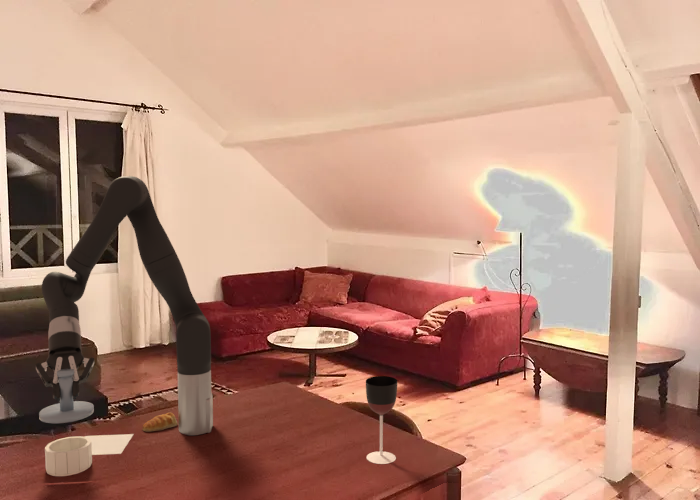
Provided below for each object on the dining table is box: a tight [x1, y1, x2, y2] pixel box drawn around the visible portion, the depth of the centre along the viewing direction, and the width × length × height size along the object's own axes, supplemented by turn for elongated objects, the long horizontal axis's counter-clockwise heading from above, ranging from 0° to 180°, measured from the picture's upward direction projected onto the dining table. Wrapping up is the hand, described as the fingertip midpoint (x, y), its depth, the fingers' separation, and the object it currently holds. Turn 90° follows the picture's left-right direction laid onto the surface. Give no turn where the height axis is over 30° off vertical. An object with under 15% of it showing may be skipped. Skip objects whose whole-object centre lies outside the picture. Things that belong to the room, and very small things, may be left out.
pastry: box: [142, 412, 178, 433], centre depth 171 cm, size 9×7×4 cm
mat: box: [84, 433, 135, 456], centre depth 158 cm, size 13×13×1 cm
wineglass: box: [365, 375, 398, 465], centre depth 150 cm, size 8×9×20 cm
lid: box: [38, 369, 95, 424], centre depth 144 cm, size 12×12×11 cm
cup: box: [44, 435, 93, 477], centre depth 145 cm, size 10×10×6 cm
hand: (66, 398), depth 142 cm, fingers closed on lid, 3 cm apart
